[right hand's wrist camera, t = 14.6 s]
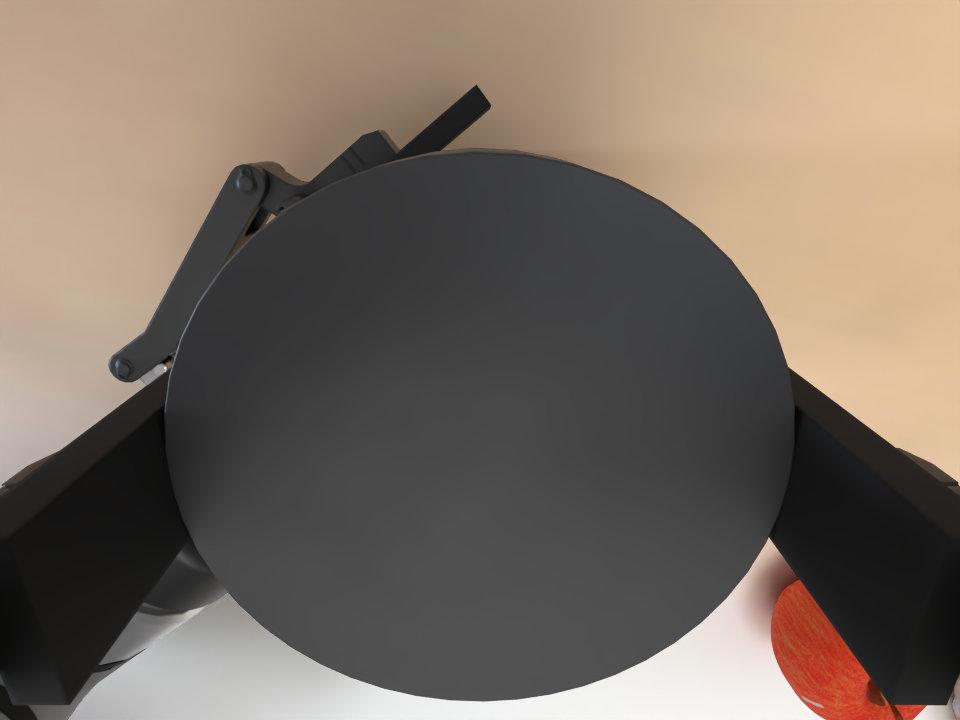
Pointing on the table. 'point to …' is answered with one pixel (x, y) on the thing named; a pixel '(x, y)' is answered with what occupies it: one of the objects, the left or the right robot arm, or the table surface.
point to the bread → (957, 699)
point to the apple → (825, 663)
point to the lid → (479, 426)
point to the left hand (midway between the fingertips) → (573, 225)
